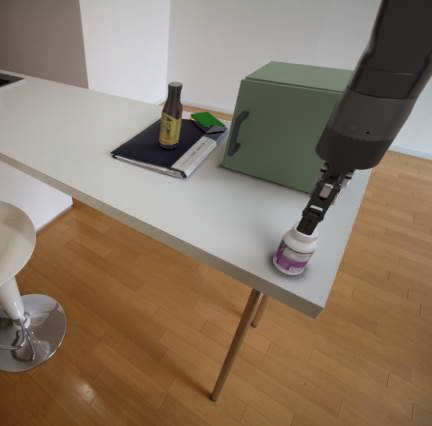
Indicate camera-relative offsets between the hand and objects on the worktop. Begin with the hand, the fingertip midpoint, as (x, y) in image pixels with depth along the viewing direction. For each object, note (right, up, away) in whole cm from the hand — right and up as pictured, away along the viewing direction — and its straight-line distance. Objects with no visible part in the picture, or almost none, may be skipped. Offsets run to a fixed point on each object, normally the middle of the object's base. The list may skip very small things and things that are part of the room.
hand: (311, 218), depth 48 cm
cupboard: (+16, +15, +35) cm, 41 cm away
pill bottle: (+1, -9, +8) cm, 12 cm away
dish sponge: (+2, +33, +58) cm, 67 cm away
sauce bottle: (-15, +23, +47) cm, 54 cm away
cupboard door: (+7, +8, +28) cm, 30 cm away
